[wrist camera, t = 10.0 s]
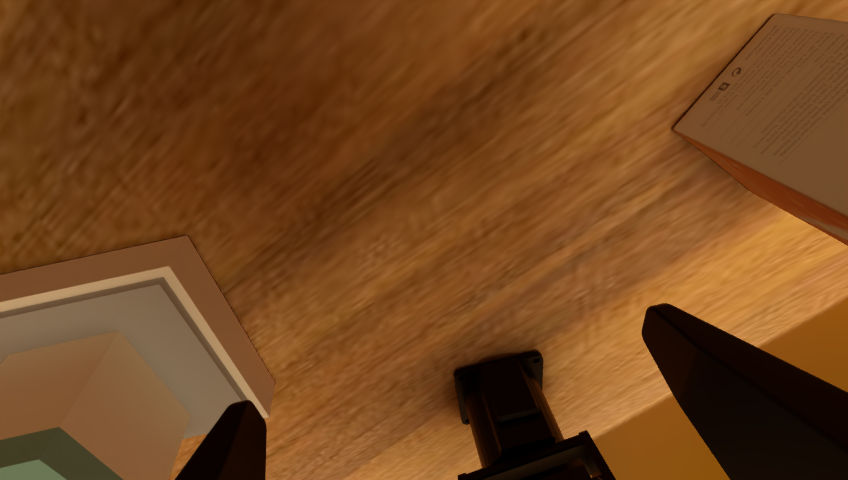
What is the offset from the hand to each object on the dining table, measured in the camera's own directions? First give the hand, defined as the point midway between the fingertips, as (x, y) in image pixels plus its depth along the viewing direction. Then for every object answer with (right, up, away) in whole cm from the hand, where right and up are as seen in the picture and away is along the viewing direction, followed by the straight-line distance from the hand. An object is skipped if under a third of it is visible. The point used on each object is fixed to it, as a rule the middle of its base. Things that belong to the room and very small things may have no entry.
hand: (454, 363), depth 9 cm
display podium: (-17, -3, +14) cm, 23 cm away
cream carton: (-17, -5, +12) cm, 21 cm away
